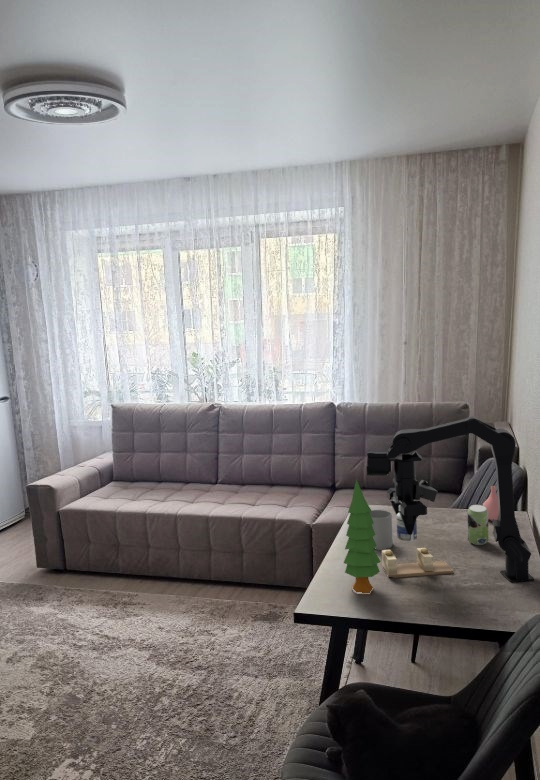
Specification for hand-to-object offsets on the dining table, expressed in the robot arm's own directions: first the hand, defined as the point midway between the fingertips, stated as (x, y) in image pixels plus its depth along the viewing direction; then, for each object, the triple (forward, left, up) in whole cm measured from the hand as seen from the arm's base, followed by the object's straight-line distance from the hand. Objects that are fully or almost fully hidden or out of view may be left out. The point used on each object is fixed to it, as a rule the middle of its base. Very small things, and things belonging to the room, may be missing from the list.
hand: (407, 531), depth 158 cm
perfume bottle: (+37, -41, -12) cm, 56 cm away
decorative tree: (-9, +15, -12) cm, 21 cm away
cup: (+22, +3, -12) cm, 25 cm away
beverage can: (+17, -27, -12) cm, 34 cm away
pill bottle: (0, 0, -3) cm, 3 cm away
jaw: (0, -5, -10) cm, 12 cm away
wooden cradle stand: (0, -2, -12) cm, 12 cm away
